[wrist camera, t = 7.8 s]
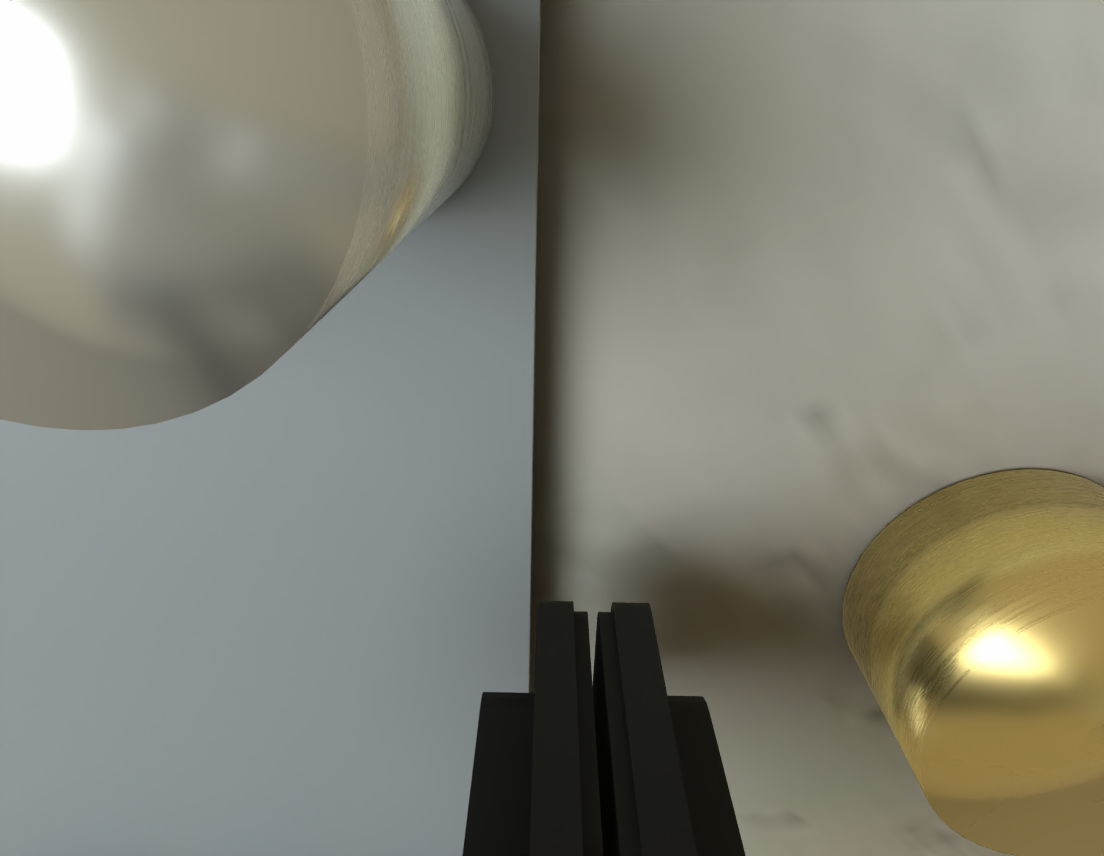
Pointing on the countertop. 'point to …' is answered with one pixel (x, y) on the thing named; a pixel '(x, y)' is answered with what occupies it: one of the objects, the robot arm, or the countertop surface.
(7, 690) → the plate
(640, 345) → the countertop surface
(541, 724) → the robot arm
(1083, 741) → the gold rounded lump
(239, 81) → the steel spacers
